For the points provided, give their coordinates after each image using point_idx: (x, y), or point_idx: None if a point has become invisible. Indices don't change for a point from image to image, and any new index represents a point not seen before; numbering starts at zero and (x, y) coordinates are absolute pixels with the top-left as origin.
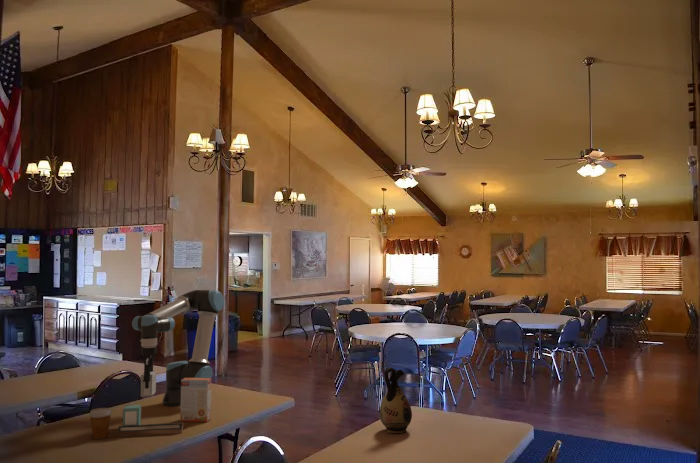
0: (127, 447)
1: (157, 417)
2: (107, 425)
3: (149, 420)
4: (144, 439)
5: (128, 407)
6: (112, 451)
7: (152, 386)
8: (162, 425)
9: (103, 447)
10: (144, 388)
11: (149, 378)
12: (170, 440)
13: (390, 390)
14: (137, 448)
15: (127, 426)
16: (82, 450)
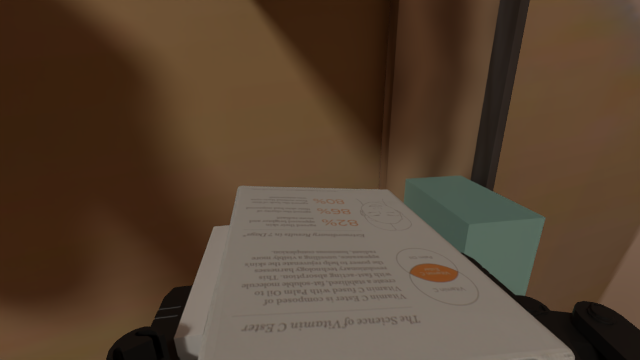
0: (589, 173)
1: (177, 134)
2: None
3: (237, 165)
4: (526, 130)
5: (511, 277)
6: (605, 210)
7: (416, 226)
8: (513, 61)
9: (554, 248)
10: None
11: (561, 331)
12: (585, 12)
13: None
14: (616, 136)
15: None
16: (555, 295)
